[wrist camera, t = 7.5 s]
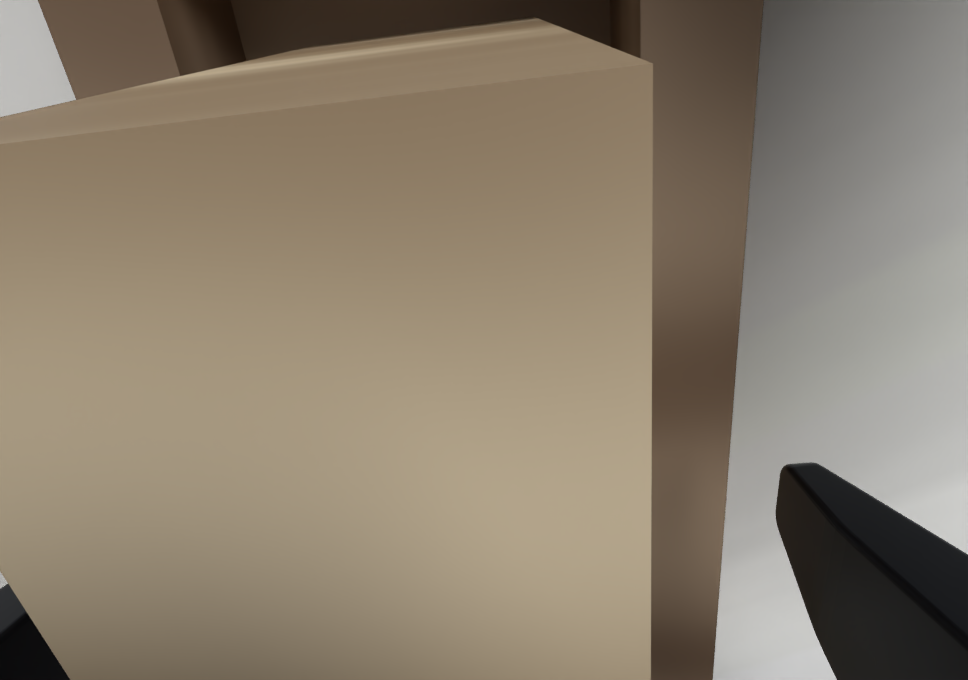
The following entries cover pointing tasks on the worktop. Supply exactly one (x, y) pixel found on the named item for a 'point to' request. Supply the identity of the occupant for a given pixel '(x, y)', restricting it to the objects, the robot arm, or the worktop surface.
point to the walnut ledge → (675, 212)
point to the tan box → (336, 365)
